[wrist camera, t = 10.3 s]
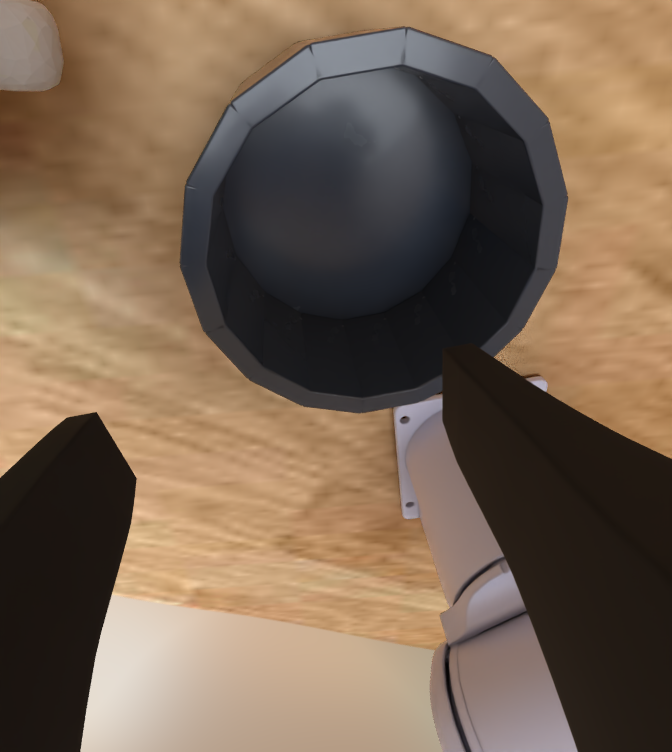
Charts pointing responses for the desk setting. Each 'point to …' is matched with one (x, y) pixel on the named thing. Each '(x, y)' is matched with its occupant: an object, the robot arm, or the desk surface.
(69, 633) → the robot arm
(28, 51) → the teacup
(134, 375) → the desk surface
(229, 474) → the desk surface
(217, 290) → the tin
